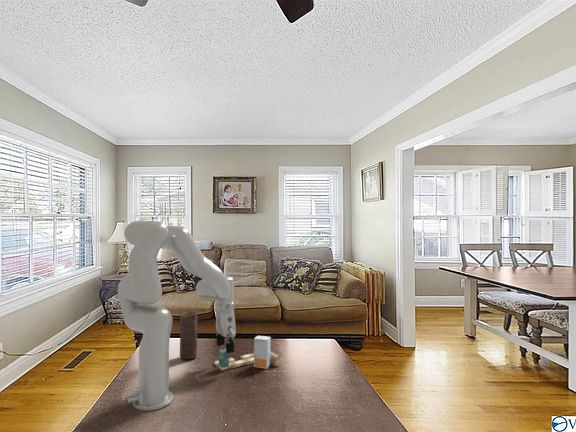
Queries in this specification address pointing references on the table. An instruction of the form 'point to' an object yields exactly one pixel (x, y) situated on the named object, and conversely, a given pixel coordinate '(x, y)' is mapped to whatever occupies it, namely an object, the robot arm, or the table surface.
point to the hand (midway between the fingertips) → (225, 348)
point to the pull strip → (225, 363)
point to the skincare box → (262, 351)
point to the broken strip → (234, 360)
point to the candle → (188, 335)
